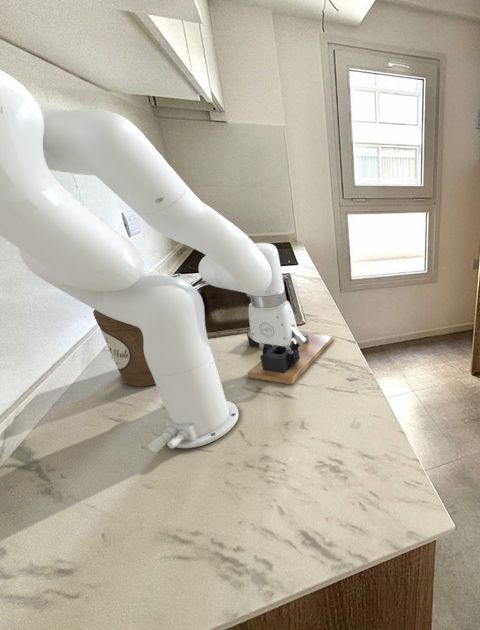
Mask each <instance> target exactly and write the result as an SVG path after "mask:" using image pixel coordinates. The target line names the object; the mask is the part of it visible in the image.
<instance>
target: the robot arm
mask: <svg viewBox="0 0 480 630" xmlns="http://www.w3.org/2000/svg"><path fill="white" fill-rule="evenodd" d="M51 171H57V172H61V173H69V174H74V175H82V176H92V177H93V176H95V177H96V178H97V179H99V181H100V182H102V183H103V184H104V185H105V186H106V187H107V188H108V189H109V190H111V192H113V193H114V194H115V195H116V196H117V197H118V198H119V199H120V200H122V201H123V202H124V204H126V205H127V206H128V207H129V208H130V209H131V210H132V211H133V212H135V213H136V214H137V216H138V217H140V218H141V220H143V221H144V222H145V223H146V224H147V225H148V226H150V228H152V229H153V230H154V231H156V232H158V233H159V234H161V235H163V236H164V237H167V238H169V239H171V240H173V241H175V242H177V243H179V244H182V245H184V246H187V247H188V248H189V247H190V248H191V249H194V250H196V251H198V252H200V253H202V254H203V255H204V256H203V257H202V258H201V260H200V261H199V263H198V274H199V277H200V278H201V279H202V280H203V281H204V282H205V283H206V284H208V285H210V286H212V287H215V288H219V289H224V290H225V289H226V290H229V291H234V292H239V293H244V294H246V296H247V297H248V298H250V303H249V304H248V322H249V331H247V333H248V336H249V337H250V338H251V339H252V340H254V342H255V343H256V344H257V345H258V346H259V347H258V346H257V347H258V349H259V350H260V351H262V355H263V354H264V353H265V352H266V351H268V350H269V349H270V348H271V347H272V346H273V345H278V346H285V348H286V349H287V351H288V353H287V359H288V364H289V367H293V366H294V365H295V364H296V363H297V361H298V356H297V349H298V348H299V347H300V346H301V345H302V344H303V343H304V342H305V341H306V338H305V337H304V336H303V335H302V334H301V333H300V332H301V331H299V330H298V326H297V321H296V318H295V313H294V311H293V309H292V306H291V304H290V301H289V300H287V295H286V288H285V284H284V278H283V272H282V267H281V262H280V261H281V260H280V255H279V250H278V248H277V247H276V246H275V245H274V244H272V243H267V242H256V243H255V242H254V241H253V240H252V239H251V238H250V237H249V236H248V235H247V234H246V233H245V232H243V231H242V230H241V229H240V228H239V227H237V226H236V225H234V224H233V223H232V222H231V221H229V220H228V219H226V218H225V217H224V216H222V215H221V213H219V212H217V211H216V210H214V209H213V208H212V207H210V206H209V205H207V204H205V203H204V202H203V201H202V200H200V199H199V197H198V196H197V195H195V192H193V191H192V190H191V188H190V187H189V186H188V185H187V184H186V183H185V182H184V181H183V179H182V178H181V177H180V176H179V175H178V174H177V172H176V171H175V170H174V169H173V167H172V166H171V165H170V164H169V163H168V162H167V160H166V159H165V158H164V156H162V155H161V153H159V151H158V150H157V149H156V148H155V146H154V145H153V144H152V143H151V142H150V141H149V139H148V138H147V137H146V136H145V135H144V133H143V132H141V130H140V129H139V128H138V127H137V126H135V124H134V123H132V122H131V121H130V120H129V119H127V118H126V117H124V116H122V115H121V114H119V113H116V112H112V111H110V110H105V109H93V108H91V109H89V108H88V109H87V108H86V109H70V110H67V109H62V108H58V107H54V106H51V105H46V104H43V103H39V102H37V101H36V100H35V98H34V97H33V95H32V94H31V92H30V91H28V89H27V88H26V87H25V86H24V85H23V84H22V83H20V82H19V81H18V80H17V79H16V78H15V77H13V76H12V75H10V74H8V73H7V72H6V71H3V70H2V69H0V237H2V238H3V239H5V240H6V241H7V242H9V244H12V245H13V246H15V247H16V248H18V251H19V256H20V258H21V259H22V262H23V264H24V265H25V266H26V268H28V269H29V271H31V272H32V273H33V274H34V275H36V276H37V277H38V278H40V279H41V280H43V281H44V282H46V283H48V284H50V285H51V286H53V287H54V288H56V289H58V290H60V291H62V292H63V293H66V294H67V295H68V296H70V297H72V298H74V299H75V300H77V301H78V302H81V303H83V304H84V305H86V306H87V307H90V308H92V310H97V311H99V312H101V313H102V314H104V315H106V316H108V317H111V318H113V319H116V320H118V321H121V322H124V323H128V324H131V325H133V326H136V327H139V328H140V329H141V331H142V334H143V340H144V344H143V348H144V355H145V358H146V361H147V364H148V367H149V369H150V371H151V373H152V376H153V378H154V381H155V383H156V384H155V387H156V388H157V390H158V393H159V396H160V398H161V401H162V403H163V405H164V408H165V410H166V413H167V416H168V419H167V420H165V421H164V425H165V429H163V431H162V434H161V435H159V436H157V437H156V438H155V439H154V440H152V441H151V442H150V443H148V445H147V447H148V449H149V450H150V451H151V452H152V453H158V452H159V451H160V450H161V449H162V448H164V447H165V446H166V445H167V447H168V448H169V449H174V448H179V449H193V448H198V447H202V446H205V445H208V444H210V443H212V442H214V441H217V440H218V439H220V438H221V437H224V436H225V435H226V434H227V433H228V432H230V431H231V429H233V427H235V426H236V424H237V422H238V421H239V417H240V416H239V415H240V412H239V408H238V406H237V405H236V404H235V403H233V402H232V401H229V400H227V399H226V395H225V392H224V389H223V385H222V381H221V378H220V375H219V372H218V369H217V365H216V361H215V358H214V355H213V352H212V349H211V345H210V342H209V338H208V333H207V329H206V314H205V313H206V312H205V304H204V301H203V297H202V295H201V294H200V292H199V291H198V290H197V289H196V287H194V286H193V285H192V284H190V283H189V282H187V281H186V280H184V279H181V278H178V277H176V276H175V277H174V276H171V275H166V274H161V273H158V272H157V273H156V272H150V271H148V270H147V271H145V270H144V269H145V264H144V259H143V257H142V255H141V253H140V250H138V248H136V246H135V245H134V244H133V243H132V242H131V241H130V240H128V239H127V238H126V237H125V236H123V234H121V233H120V232H118V231H117V230H115V229H114V228H113V227H112V226H110V225H109V224H108V223H107V222H106V221H104V220H103V219H102V218H101V217H99V216H98V215H96V213H94V212H93V211H92V210H90V209H89V208H88V207H87V206H85V204H83V203H82V202H81V201H79V200H78V198H76V197H75V196H74V195H73V194H72V193H70V191H68V190H67V189H66V188H65V187H64V186H63V185H62V184H61V183H60V182H59V181H58V180H57V179H56V178H55V176H54V175H53V174H52V172H51ZM294 338H295V339H296V340H297V343H296V341H295V340H294ZM290 343H291V345H292V347H291V346H290Z"/></svg>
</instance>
